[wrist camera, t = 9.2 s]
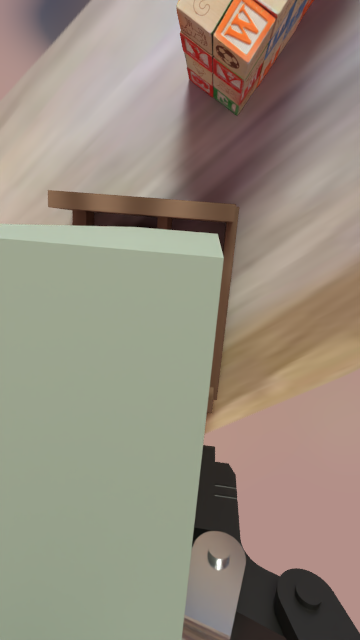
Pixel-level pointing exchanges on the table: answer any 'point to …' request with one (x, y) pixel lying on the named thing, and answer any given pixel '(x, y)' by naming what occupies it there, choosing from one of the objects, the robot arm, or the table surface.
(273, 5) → the stack of blocks
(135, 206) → the rack
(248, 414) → the table surface
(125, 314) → the tall sheet
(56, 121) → the table surface
